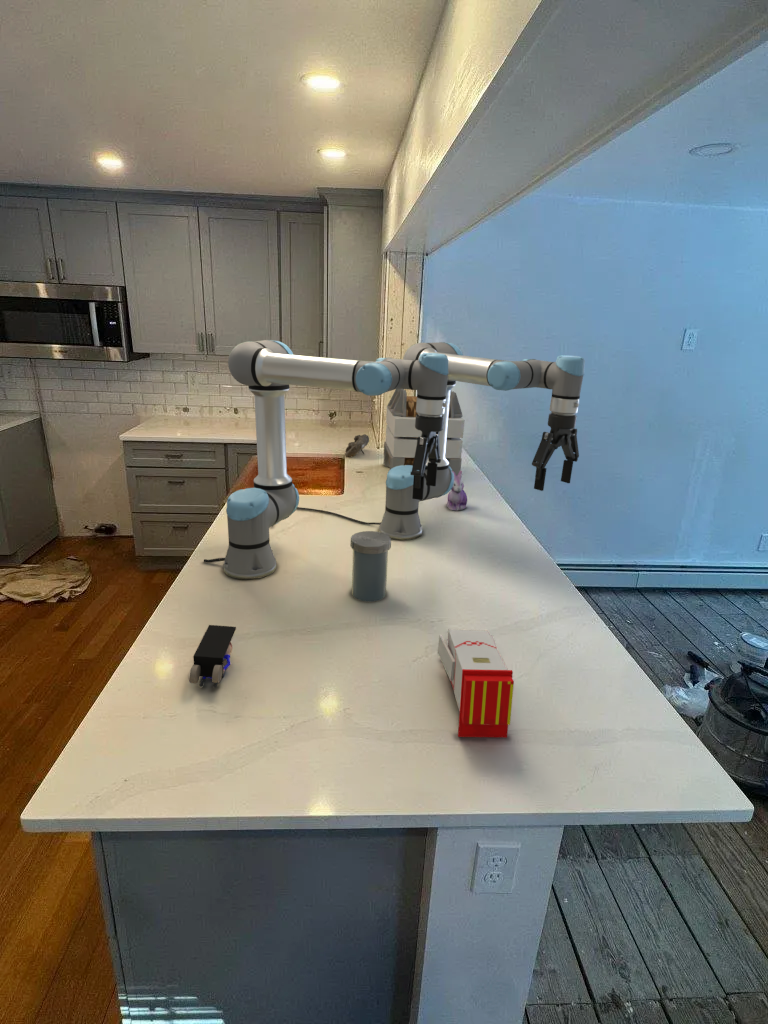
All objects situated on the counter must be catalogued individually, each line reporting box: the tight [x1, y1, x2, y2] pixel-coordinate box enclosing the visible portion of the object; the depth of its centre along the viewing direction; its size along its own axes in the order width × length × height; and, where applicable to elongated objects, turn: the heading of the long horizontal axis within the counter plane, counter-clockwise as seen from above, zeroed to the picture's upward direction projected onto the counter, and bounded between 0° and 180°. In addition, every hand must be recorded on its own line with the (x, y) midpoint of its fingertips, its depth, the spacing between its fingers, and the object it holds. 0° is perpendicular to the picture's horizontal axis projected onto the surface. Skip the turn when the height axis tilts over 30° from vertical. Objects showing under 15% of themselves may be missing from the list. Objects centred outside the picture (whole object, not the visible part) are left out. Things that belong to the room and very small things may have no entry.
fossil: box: [344, 433, 370, 458], centre depth 304 cm, size 22×10×15 cm
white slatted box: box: [383, 389, 465, 475], centre depth 268 cm, size 34×33×41 cm
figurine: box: [446, 470, 468, 511], centre depth 227 cm, size 9×10×15 cm
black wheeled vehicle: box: [188, 624, 237, 689], centre depth 120 cm, size 7×8×15 cm
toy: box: [437, 628, 515, 738], centre depth 117 cm, size 12×13×30 cm
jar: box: [351, 549, 389, 603], centre depth 155 cm, size 10×10×16 cm
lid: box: [350, 530, 392, 554], centre depth 152 cm, size 11×11×2 cm
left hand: (424, 492), depth 155 cm, fingers open, 13 cm apart
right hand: (552, 485), depth 166 cm, fingers open, 13 cm apart
